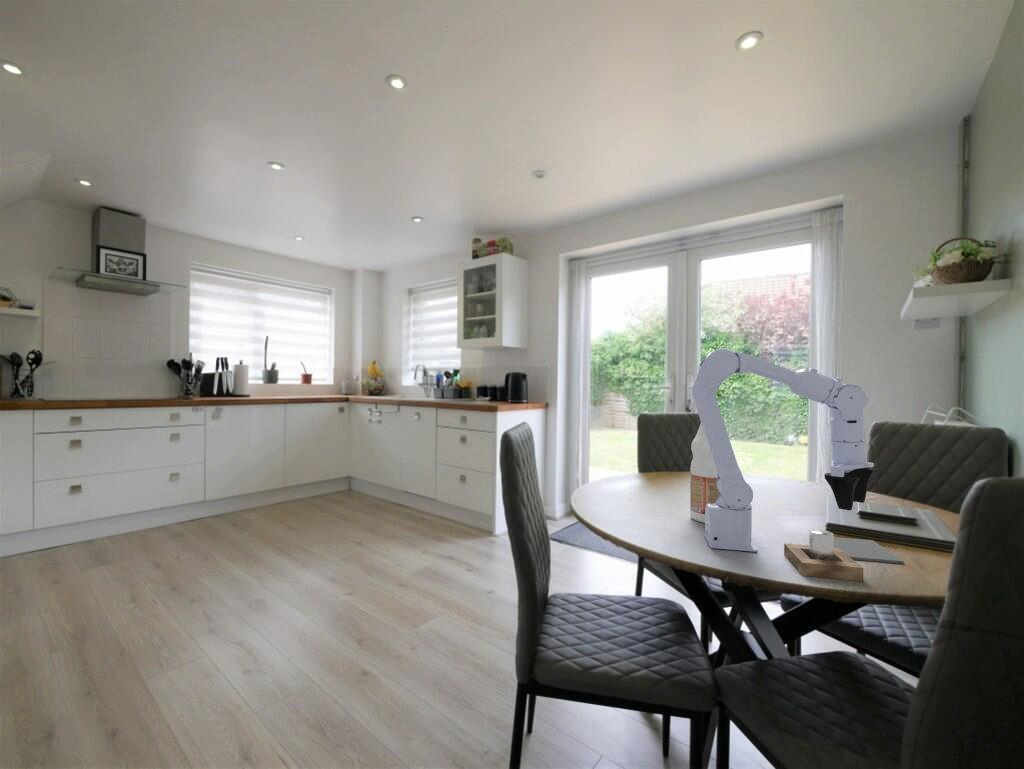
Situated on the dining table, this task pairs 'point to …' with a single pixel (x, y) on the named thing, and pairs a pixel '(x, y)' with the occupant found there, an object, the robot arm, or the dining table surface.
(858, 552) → the mat
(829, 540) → the plug
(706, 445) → the fruit juice
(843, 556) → the holder
